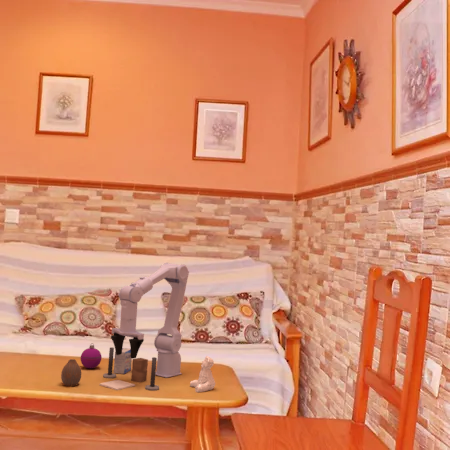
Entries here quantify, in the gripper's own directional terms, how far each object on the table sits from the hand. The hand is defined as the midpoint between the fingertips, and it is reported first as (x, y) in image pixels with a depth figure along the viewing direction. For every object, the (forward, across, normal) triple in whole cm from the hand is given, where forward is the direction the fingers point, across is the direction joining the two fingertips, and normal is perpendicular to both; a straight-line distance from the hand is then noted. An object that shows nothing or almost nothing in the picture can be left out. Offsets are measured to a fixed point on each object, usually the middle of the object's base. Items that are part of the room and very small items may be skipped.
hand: (126, 356), depth 205 cm
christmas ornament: (+10, -26, +7) cm, 29 cm away
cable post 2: (+10, +11, +3) cm, 15 cm away
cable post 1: (+10, -11, +3) cm, 15 cm away
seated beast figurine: (+10, +23, +18) cm, 31 cm away
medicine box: (+10, -14, +13) cm, 22 cm away
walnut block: (+10, 0, +8) cm, 13 cm away
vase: (+10, -11, -15) cm, 21 cm away
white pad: (+10, 0, -3) cm, 11 cm away
